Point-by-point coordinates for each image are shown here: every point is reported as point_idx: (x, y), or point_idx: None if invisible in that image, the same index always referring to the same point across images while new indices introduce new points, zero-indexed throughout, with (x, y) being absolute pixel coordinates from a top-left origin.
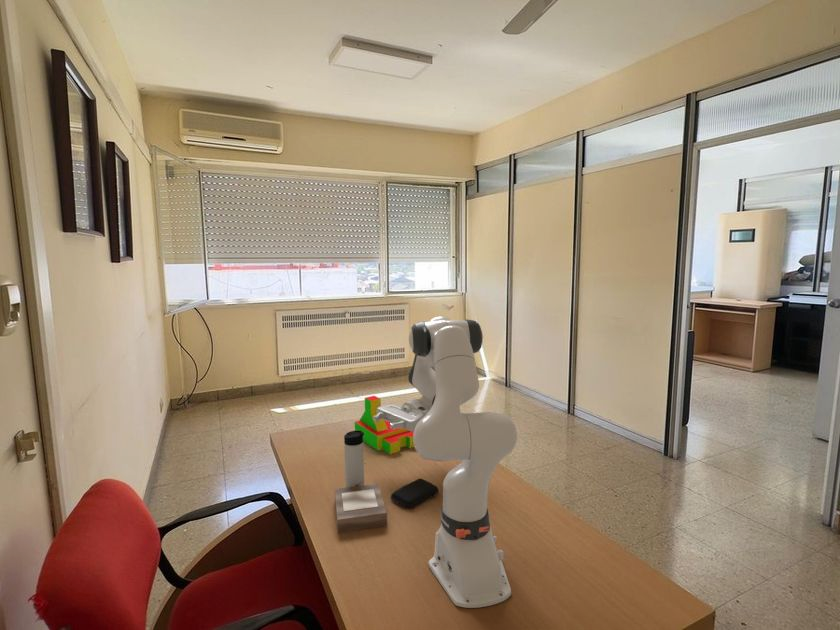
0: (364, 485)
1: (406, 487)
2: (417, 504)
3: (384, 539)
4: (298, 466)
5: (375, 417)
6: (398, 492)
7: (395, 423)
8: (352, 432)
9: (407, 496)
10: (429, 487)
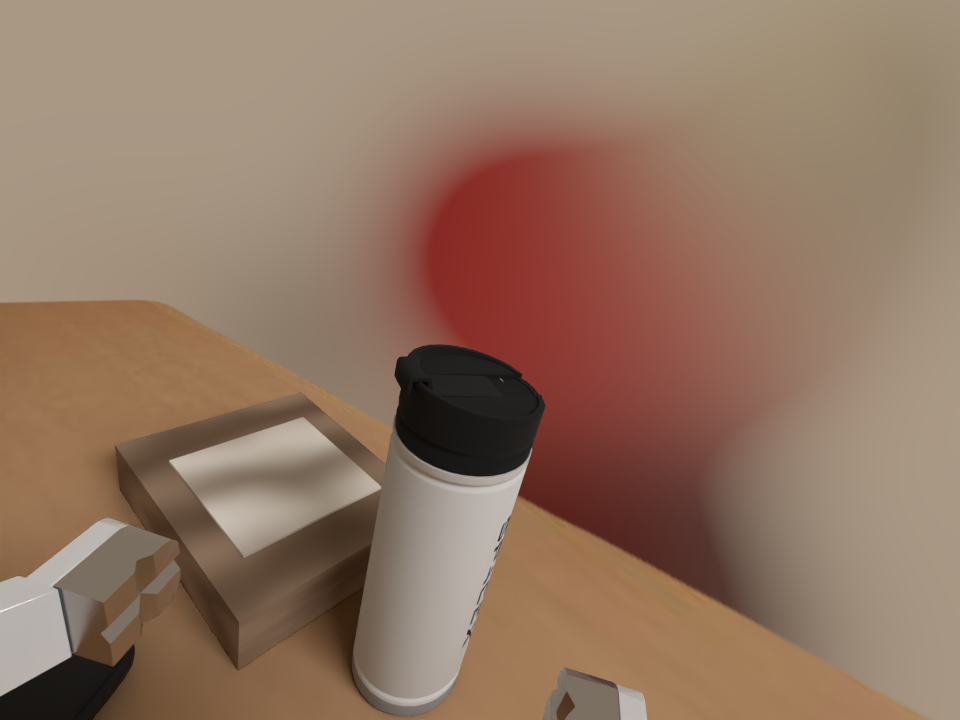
0: (315, 572)
1: None
2: None
3: (115, 439)
4: (840, 715)
5: (580, 672)
6: None
7: (56, 563)
8: (518, 410)
9: None
10: None
